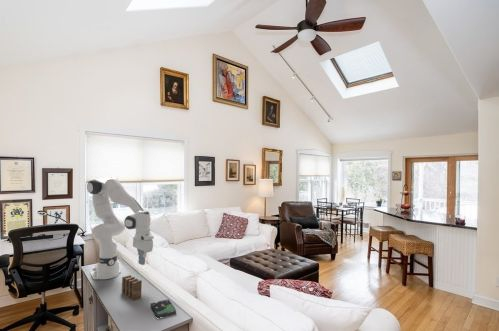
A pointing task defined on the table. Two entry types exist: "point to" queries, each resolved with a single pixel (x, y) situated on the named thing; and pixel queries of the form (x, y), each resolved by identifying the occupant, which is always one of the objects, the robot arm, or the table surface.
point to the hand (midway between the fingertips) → (141, 256)
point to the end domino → (141, 257)
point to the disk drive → (163, 308)
